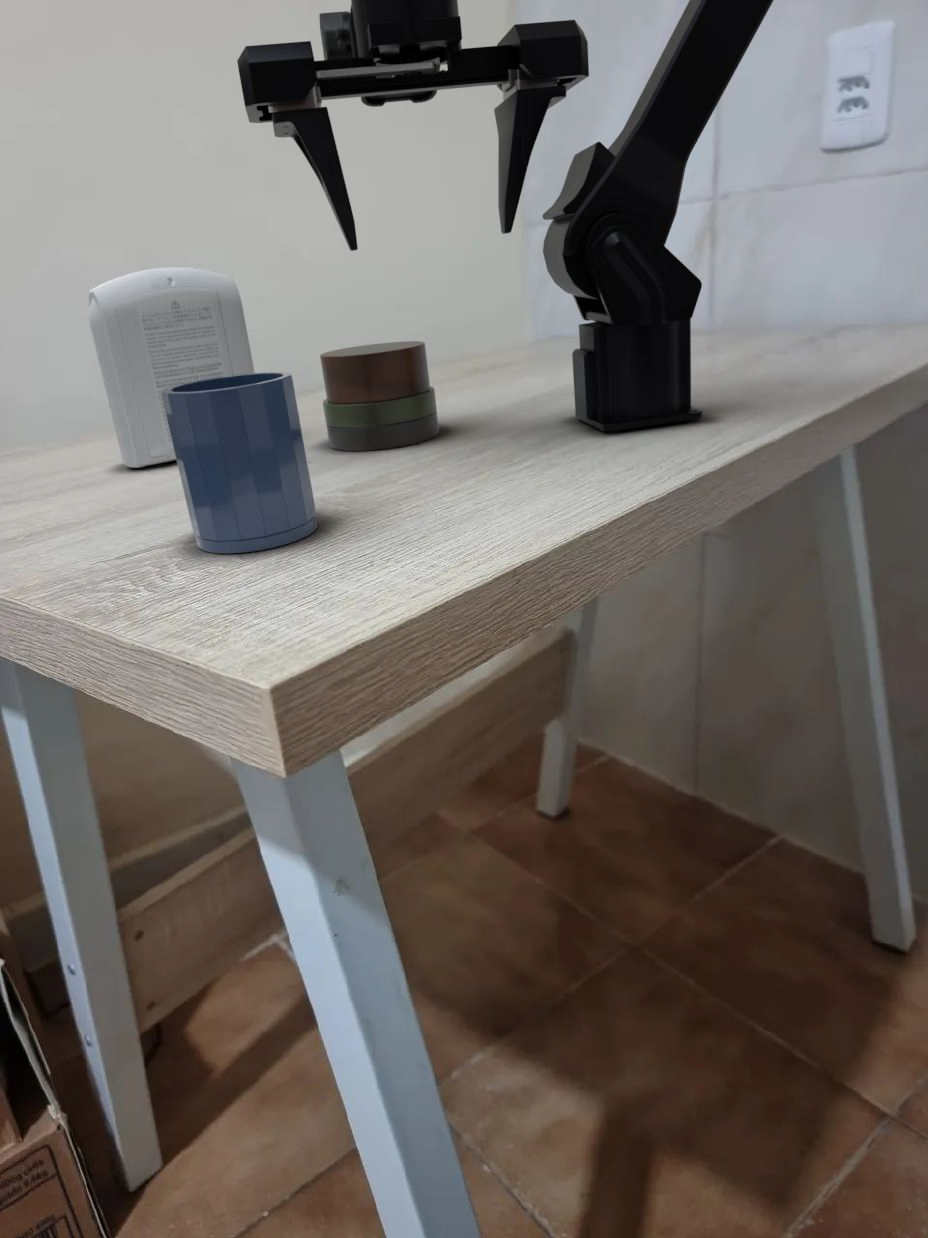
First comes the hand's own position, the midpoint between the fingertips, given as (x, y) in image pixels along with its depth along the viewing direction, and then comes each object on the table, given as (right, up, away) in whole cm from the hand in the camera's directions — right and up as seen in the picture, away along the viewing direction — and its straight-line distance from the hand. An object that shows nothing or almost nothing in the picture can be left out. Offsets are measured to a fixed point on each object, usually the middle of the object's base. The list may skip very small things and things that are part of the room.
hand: (431, 241), depth 52 cm
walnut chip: (-4, -7, +7) cm, 11 cm away
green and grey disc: (-4, -10, +9) cm, 14 cm away
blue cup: (-8, -18, -11) cm, 23 cm away
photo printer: (-17, -11, +11) cm, 23 cm away
